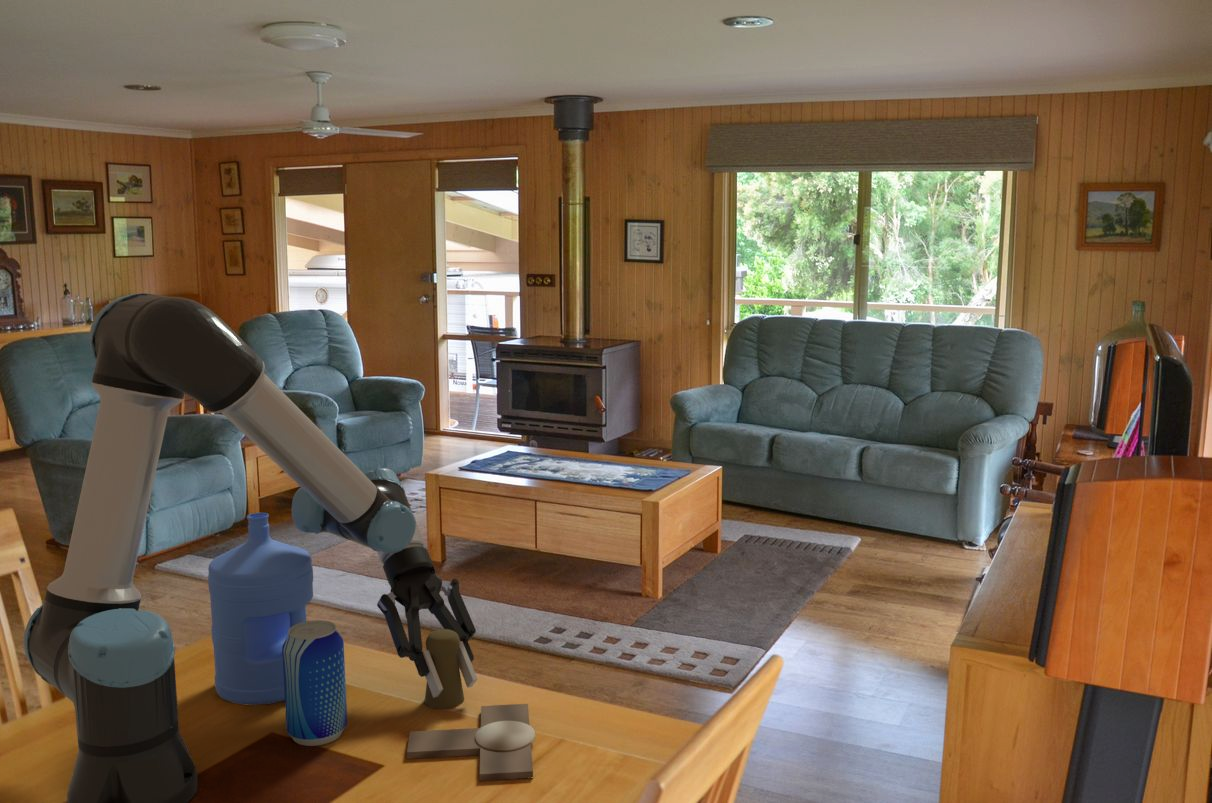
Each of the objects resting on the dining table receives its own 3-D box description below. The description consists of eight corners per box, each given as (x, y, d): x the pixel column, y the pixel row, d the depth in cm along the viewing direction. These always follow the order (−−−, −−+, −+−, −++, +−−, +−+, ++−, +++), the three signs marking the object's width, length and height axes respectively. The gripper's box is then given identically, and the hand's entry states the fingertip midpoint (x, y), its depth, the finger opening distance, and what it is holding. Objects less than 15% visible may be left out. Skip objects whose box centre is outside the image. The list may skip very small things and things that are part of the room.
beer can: (318, 716, 156) (313, 613, 153) (359, 729, 152) (355, 624, 149) (274, 739, 149) (268, 632, 146) (316, 754, 144) (311, 644, 142)
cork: (456, 710, 157) (454, 641, 156) (418, 706, 159) (416, 638, 157) (469, 693, 163) (467, 626, 162) (433, 689, 164) (431, 623, 163)
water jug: (193, 697, 162) (181, 523, 158) (262, 659, 176) (253, 498, 172) (273, 714, 156) (263, 534, 152) (338, 674, 170) (330, 508, 166)
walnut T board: (402, 785, 136) (402, 776, 136) (413, 715, 156) (413, 707, 156) (538, 777, 138) (538, 768, 138) (532, 709, 158) (532, 701, 157)
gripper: (447, 557, 176) (499, 683, 165) (345, 579, 165) (393, 714, 155) (461, 534, 171) (515, 662, 160) (357, 555, 160) (407, 693, 150)
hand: (455, 688), depth 157 cm, fingers closed on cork, 5 cm apart
